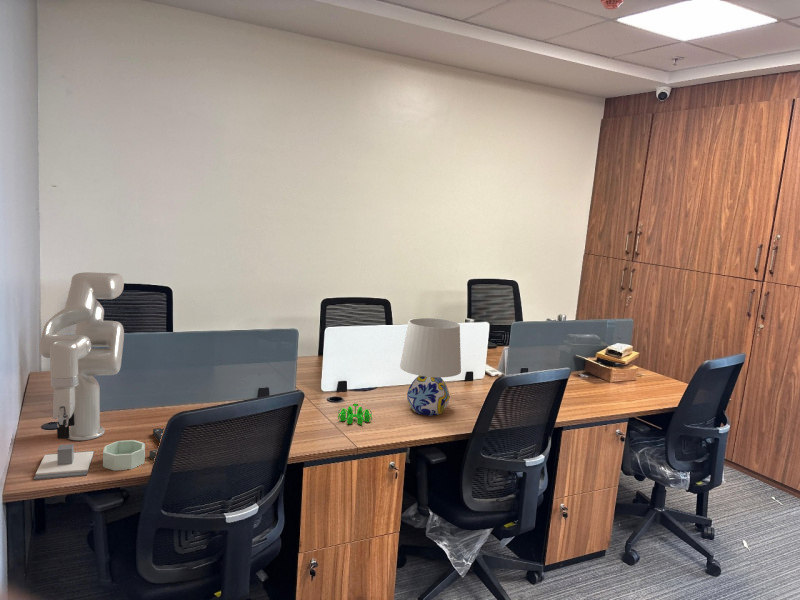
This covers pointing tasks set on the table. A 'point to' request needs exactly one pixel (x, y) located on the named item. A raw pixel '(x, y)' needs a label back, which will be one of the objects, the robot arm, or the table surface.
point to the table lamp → (431, 362)
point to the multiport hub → (152, 454)
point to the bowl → (124, 455)
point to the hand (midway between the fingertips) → (66, 431)
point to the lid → (65, 461)
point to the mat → (62, 475)
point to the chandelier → (355, 415)
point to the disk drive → (158, 433)
